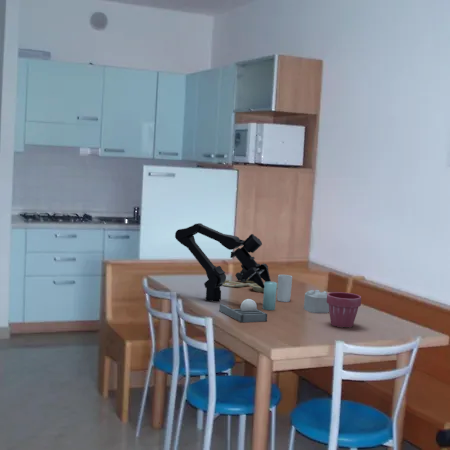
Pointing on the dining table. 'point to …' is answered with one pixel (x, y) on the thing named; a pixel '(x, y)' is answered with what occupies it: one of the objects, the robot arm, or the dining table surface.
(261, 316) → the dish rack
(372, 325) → the dining table surface
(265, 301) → the aqua tapered cylinder
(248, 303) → the white half-round piece
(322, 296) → the lumpy-topped squat cylinder
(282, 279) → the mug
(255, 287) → the tableware set
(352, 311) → the plant pot
